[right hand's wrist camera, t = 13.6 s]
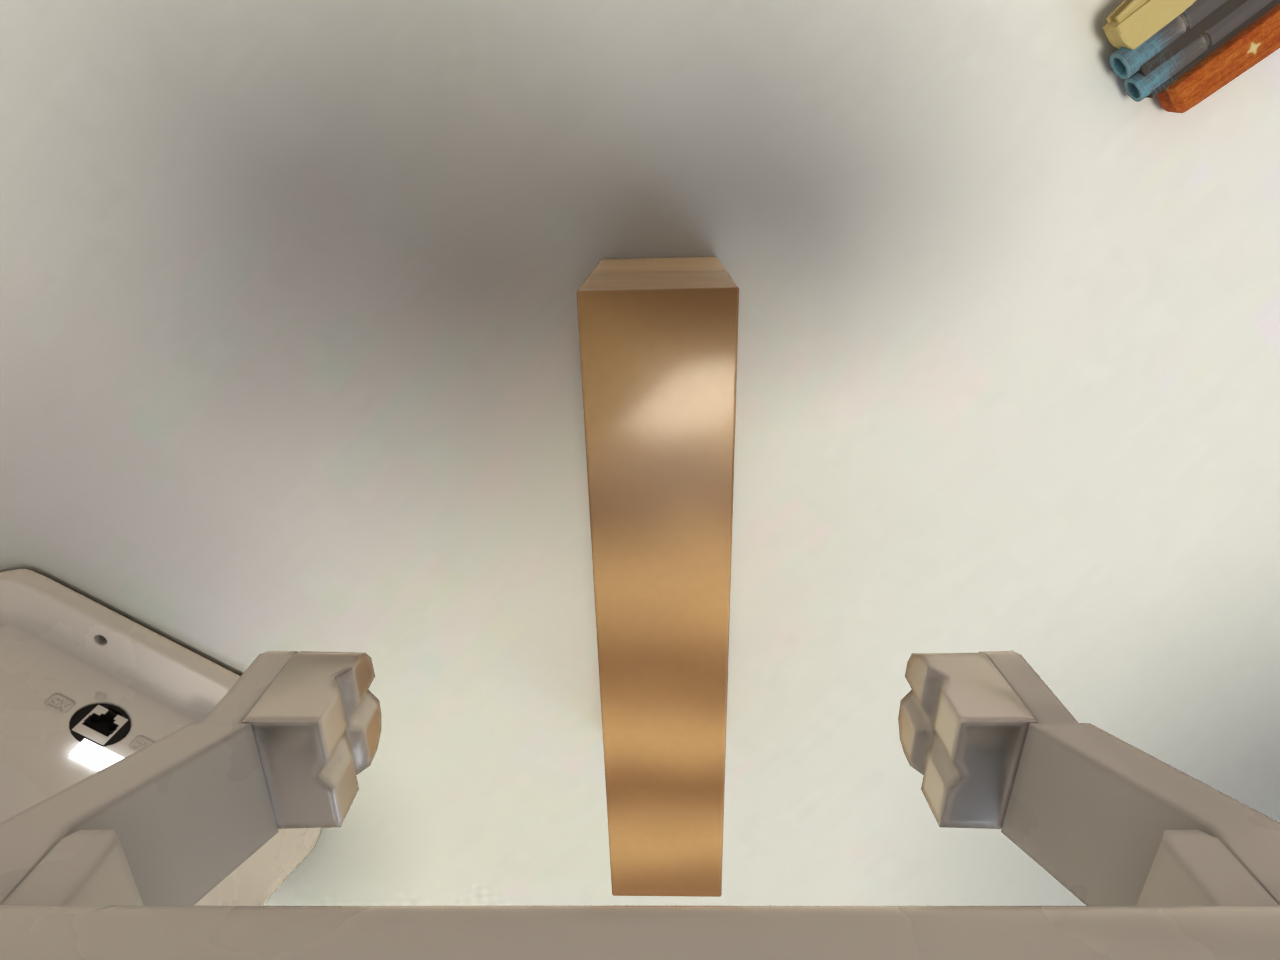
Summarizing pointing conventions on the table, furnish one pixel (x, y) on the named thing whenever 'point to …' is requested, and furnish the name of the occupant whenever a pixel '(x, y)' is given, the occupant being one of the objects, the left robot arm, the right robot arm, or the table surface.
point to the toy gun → (1189, 46)
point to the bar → (661, 557)
